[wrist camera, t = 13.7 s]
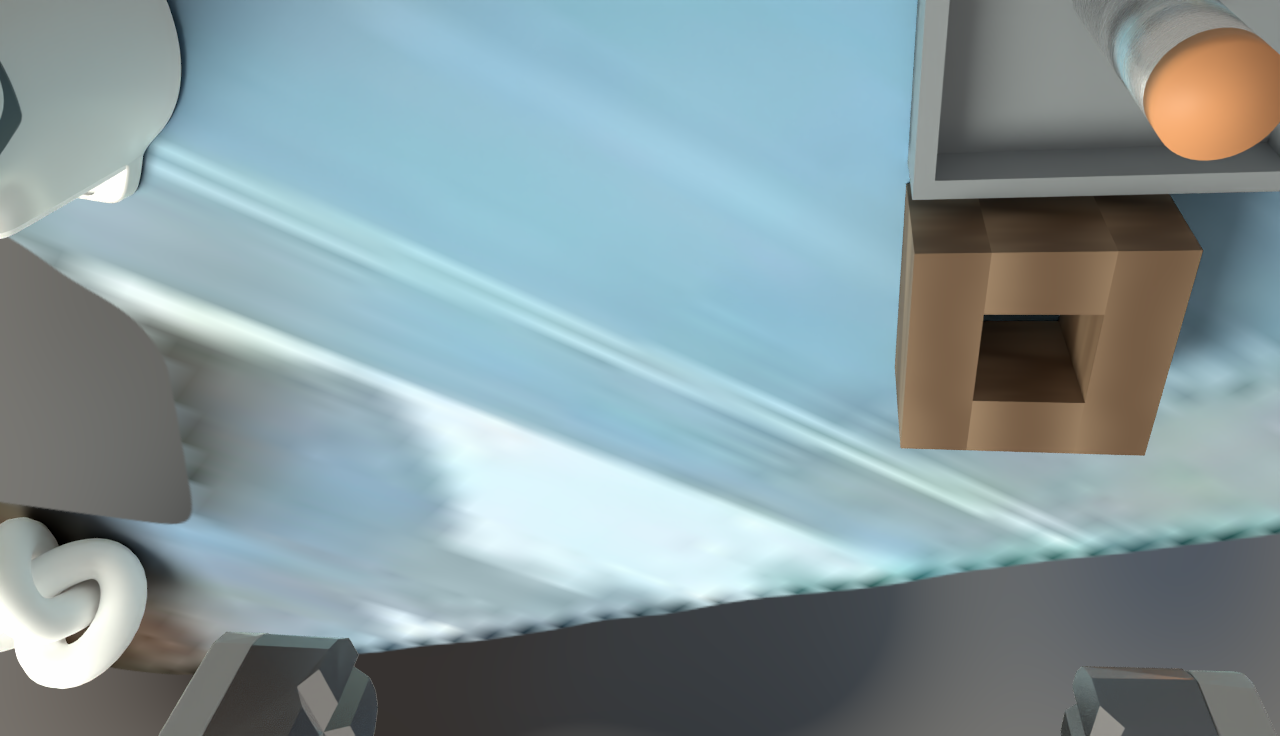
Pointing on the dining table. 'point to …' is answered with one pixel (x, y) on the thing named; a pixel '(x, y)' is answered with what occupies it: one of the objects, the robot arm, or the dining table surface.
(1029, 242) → the hitch block
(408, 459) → the dining table surface
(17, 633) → the white knot
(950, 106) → the tray
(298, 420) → the dining table surface
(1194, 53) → the pin
